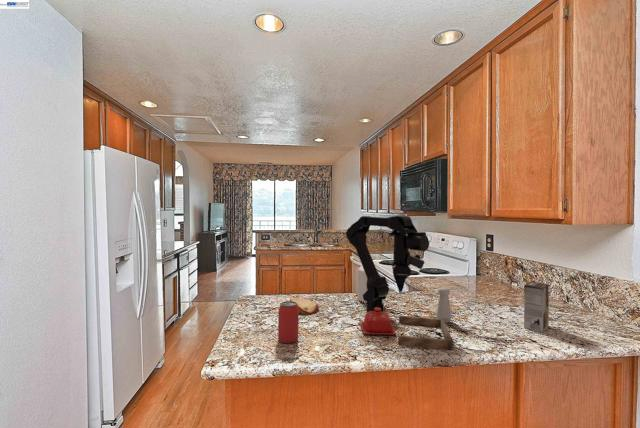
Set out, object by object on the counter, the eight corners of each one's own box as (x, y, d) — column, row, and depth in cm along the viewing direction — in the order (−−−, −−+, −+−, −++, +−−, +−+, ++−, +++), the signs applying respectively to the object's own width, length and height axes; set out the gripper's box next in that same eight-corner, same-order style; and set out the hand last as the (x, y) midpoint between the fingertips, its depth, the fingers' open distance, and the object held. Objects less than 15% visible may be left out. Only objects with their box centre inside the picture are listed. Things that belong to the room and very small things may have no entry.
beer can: (278, 336, 107) (279, 300, 107) (298, 335, 107) (298, 300, 107) (277, 344, 100) (278, 306, 100) (298, 343, 100) (298, 306, 101)
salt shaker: (453, 324, 121) (453, 290, 121) (437, 323, 122) (437, 289, 122) (449, 319, 126) (450, 286, 126) (434, 318, 127) (435, 286, 128)
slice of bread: (292, 301, 152) (292, 293, 152) (327, 305, 145) (327, 297, 145) (273, 311, 135) (273, 303, 135) (312, 317, 128) (312, 307, 128)
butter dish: (397, 337, 107) (397, 312, 107) (363, 337, 107) (363, 312, 107) (390, 325, 119) (390, 303, 119) (359, 325, 119) (359, 302, 119)
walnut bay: (398, 344, 101) (398, 336, 101) (399, 321, 123) (399, 315, 123) (452, 350, 97) (452, 342, 97) (443, 325, 119) (443, 319, 119)
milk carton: (366, 304, 147) (366, 263, 147) (357, 300, 153) (357, 261, 153) (378, 302, 150) (378, 262, 150) (369, 298, 156) (369, 260, 156)
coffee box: (529, 322, 124) (529, 281, 124) (549, 326, 119) (549, 284, 119) (523, 327, 118) (523, 284, 118) (544, 332, 113) (544, 287, 113)
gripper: (426, 252, 110) (425, 296, 110) (420, 246, 128) (419, 284, 129) (393, 250, 112) (392, 294, 113) (392, 245, 131) (391, 282, 131)
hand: (400, 288), depth 121 cm, fingers open, 9 cm apart
